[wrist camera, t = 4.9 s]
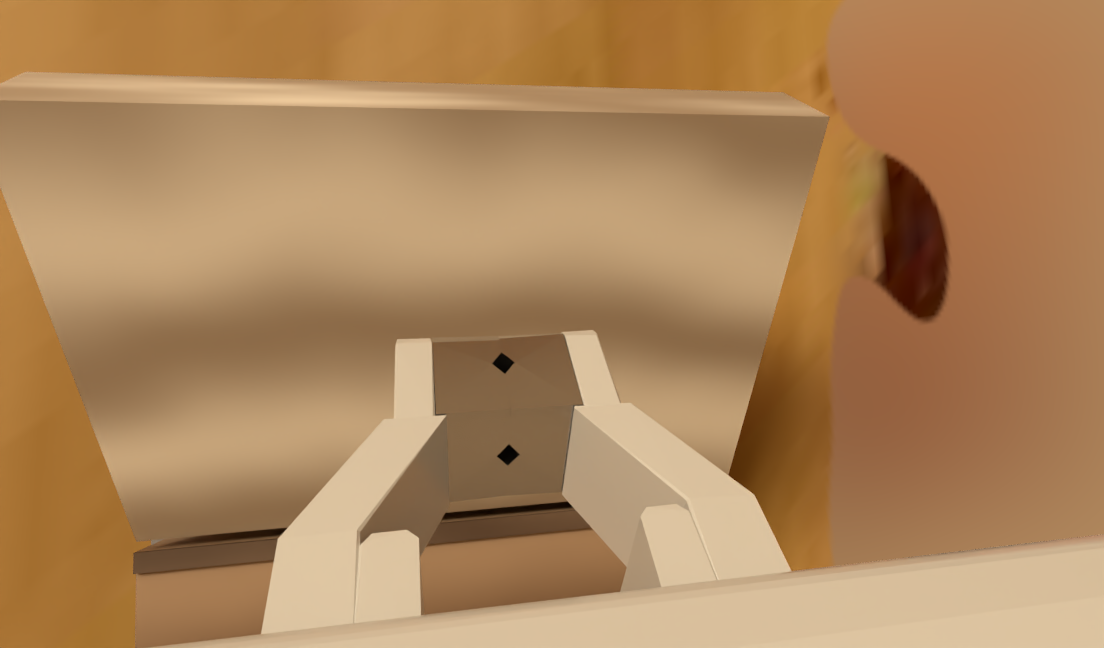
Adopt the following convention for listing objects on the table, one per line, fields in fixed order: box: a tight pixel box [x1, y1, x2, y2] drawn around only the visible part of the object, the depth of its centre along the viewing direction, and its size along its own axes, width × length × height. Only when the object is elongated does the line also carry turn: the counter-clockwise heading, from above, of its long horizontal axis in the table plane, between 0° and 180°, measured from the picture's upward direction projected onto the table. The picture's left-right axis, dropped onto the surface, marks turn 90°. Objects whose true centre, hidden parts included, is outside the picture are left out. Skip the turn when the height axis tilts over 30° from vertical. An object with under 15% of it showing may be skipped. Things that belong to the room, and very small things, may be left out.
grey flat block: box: [133, 501, 627, 648], centre depth 25 cm, size 23×20×6 cm
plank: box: [0, 72, 829, 541], centre depth 20 cm, size 13×19×2 cm
